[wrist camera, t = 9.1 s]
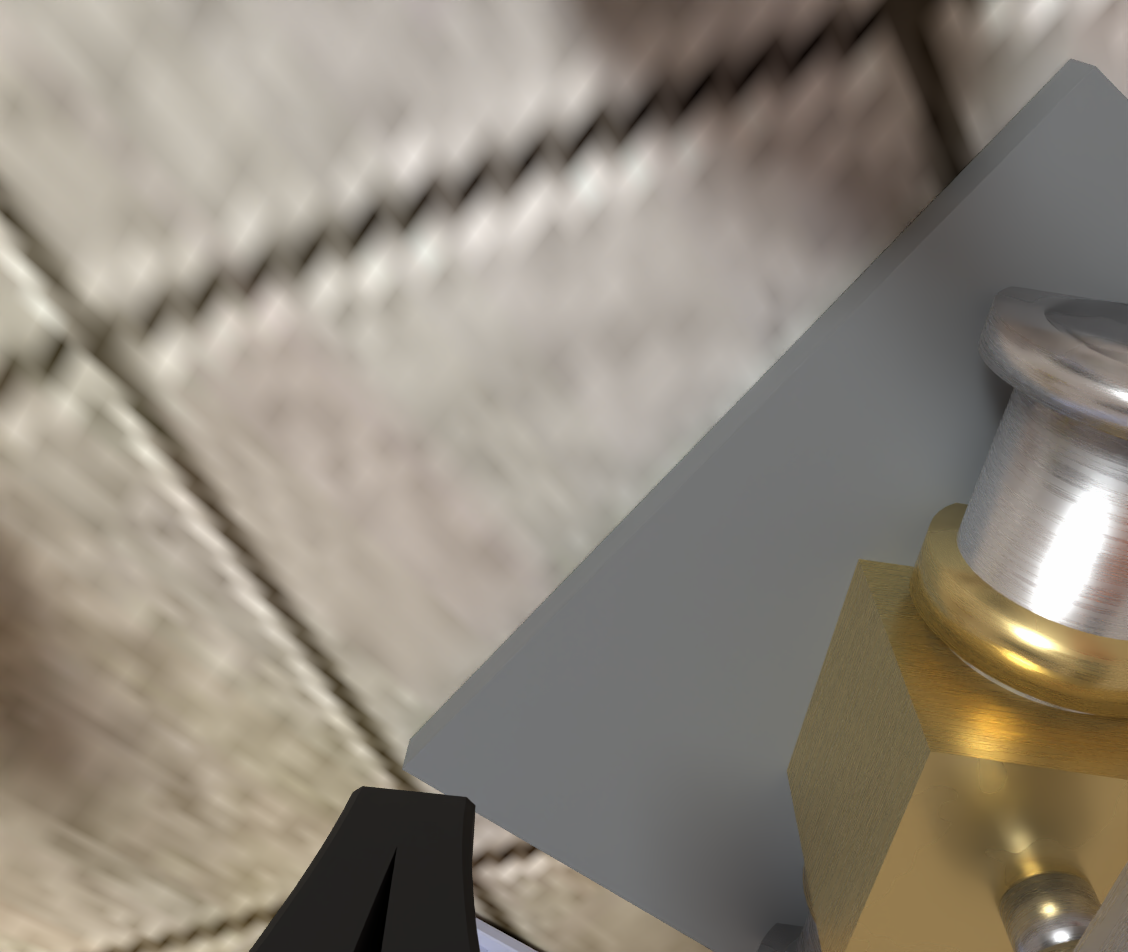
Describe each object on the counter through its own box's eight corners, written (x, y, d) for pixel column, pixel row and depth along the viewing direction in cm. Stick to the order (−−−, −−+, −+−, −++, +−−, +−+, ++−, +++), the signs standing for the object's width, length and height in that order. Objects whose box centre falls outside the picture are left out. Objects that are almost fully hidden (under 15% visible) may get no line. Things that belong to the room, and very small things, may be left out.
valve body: (946, 941, 27) (1053, 1276, 21) (727, 911, 27) (762, 1238, 20) (1260, 312, 19) (1622, 533, 12) (941, 263, 18) (1125, 458, 12)
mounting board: (867, 1012, 29) (874, 1045, 28) (409, 739, 25) (402, 769, 24) (1573, 570, 21) (1614, 598, 20) (1071, 58, 17) (1095, 66, 16)
